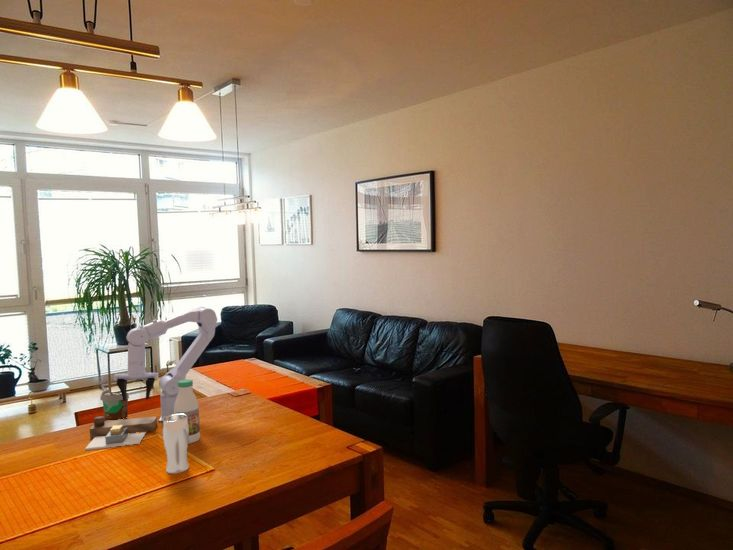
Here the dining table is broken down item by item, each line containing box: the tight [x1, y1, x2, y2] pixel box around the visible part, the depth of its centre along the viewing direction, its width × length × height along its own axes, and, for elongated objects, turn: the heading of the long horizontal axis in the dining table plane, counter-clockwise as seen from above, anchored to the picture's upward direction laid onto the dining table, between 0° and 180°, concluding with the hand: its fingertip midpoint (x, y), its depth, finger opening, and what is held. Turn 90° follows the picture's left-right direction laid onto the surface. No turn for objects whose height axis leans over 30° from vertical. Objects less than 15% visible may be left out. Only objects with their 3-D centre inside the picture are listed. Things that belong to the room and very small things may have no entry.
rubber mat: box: [84, 432, 147, 451], centre depth 161 cm, size 16×10×1 cm, turn 103°
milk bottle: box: [174, 378, 201, 445], centre depth 160 cm, size 8×8×20 cm
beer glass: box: [162, 414, 190, 475], centre depth 138 cm, size 7×7×15 cm
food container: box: [99, 389, 130, 421], centre depth 183 cm, size 12×6×10 cm, turn 62°
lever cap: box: [105, 425, 128, 444], centre depth 161 cm, size 5×7×4 cm
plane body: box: [89, 415, 158, 438], centre depth 170 cm, size 20×7×6 cm, turn 103°
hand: (136, 399), depth 176 cm, fingers open, 7 cm apart
